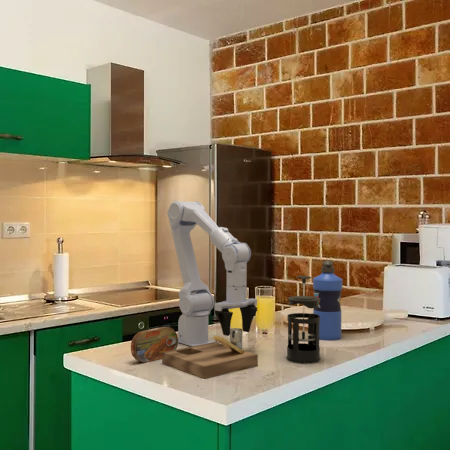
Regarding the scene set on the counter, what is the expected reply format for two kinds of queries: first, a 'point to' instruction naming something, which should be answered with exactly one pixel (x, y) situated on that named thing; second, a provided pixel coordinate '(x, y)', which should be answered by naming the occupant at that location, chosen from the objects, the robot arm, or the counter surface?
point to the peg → (236, 337)
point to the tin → (153, 343)
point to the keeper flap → (228, 344)
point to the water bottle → (328, 302)
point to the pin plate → (209, 360)
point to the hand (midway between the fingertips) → (236, 333)
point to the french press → (301, 350)
